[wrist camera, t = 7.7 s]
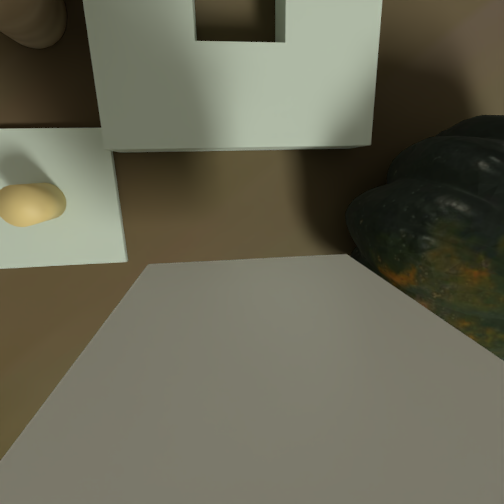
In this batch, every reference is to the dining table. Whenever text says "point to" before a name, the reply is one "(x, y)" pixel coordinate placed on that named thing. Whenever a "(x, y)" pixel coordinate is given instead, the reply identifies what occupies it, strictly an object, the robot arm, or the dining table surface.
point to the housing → (267, 396)
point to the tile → (81, 188)
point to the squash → (442, 227)
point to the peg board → (234, 78)
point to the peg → (33, 21)
